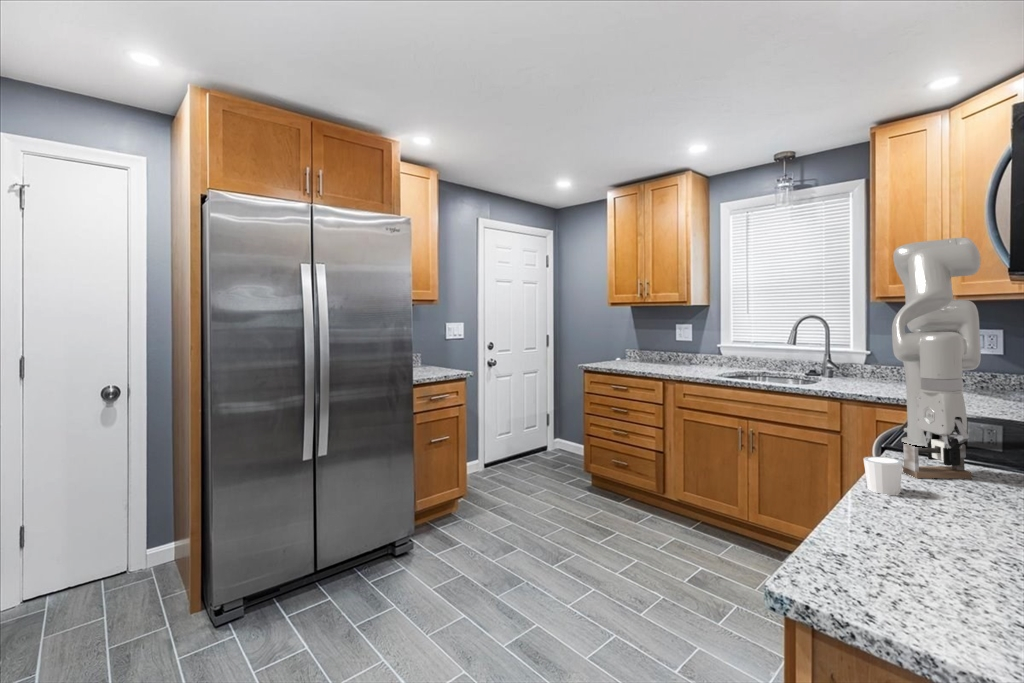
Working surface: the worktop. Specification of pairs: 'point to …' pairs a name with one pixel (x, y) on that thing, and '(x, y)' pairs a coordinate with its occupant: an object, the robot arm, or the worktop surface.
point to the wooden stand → (932, 471)
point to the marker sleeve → (938, 444)
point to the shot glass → (883, 474)
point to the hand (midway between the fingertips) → (943, 461)
